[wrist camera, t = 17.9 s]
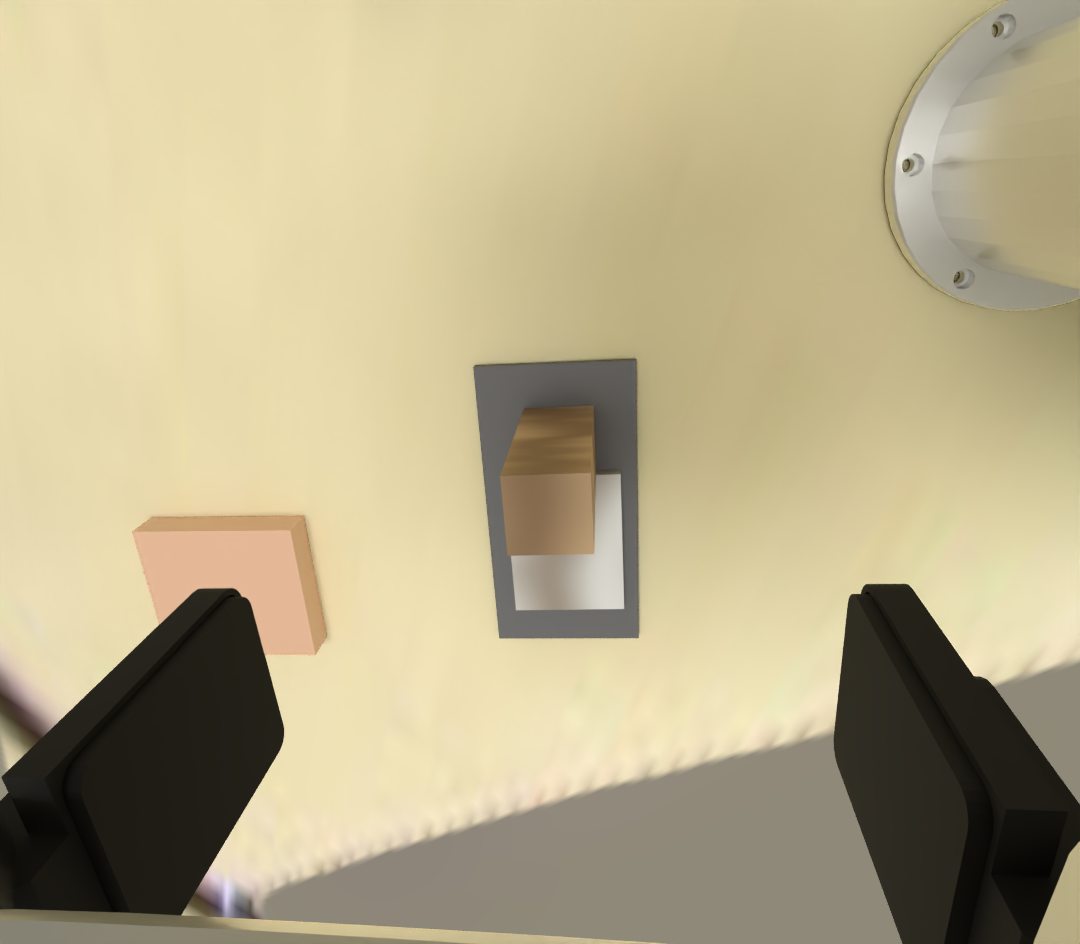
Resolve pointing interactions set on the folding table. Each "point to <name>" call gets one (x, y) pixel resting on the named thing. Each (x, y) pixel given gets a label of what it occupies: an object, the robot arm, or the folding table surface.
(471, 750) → the folding table surface
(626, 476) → the mat
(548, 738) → the folding table surface
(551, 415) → the block on white plate
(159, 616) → the tile
